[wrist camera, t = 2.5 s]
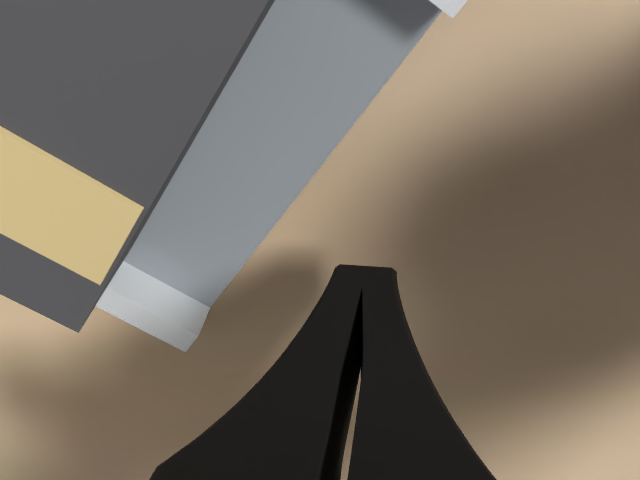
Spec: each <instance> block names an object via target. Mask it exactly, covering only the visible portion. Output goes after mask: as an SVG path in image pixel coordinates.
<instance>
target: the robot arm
mask: <svg viewBox="0 0 640 480" xmlns="http://www.w3.org/2000/svg"><path fill="white" fill-rule="evenodd" d="M360 369H361V384H360V392H359V400H358V408H357V416H356V423H355V431H354V438H353V445H352V452H351V459H350V466H349V473H348V479H347V480H496V479H495V477H494V476H493V475H492V474H491V472H490V471H489V470H488V468H487V467H486V466H485V464H484V463H483V462H482V460H481V459H480V458H479V456H478V455H477V454H476V452H475V451H474V449H473V448H472V446H471V445H470V443H469V442H468V440H467V439H466V437H465V436H464V434H463V433H462V431H461V430H460V428H459V427H458V425H457V424H456V422H455V421H454V419H453V418H452V416H451V414H450V413H449V411H448V409H447V408H446V406H445V404H444V403H443V401H442V399H441V397H440V395H439V393H438V392H437V390H436V388H435V386H434V384H433V382H432V380H431V378H430V376H429V374H428V372H427V370H426V368H425V366H424V363H423V361H422V359H421V357H420V354H419V352H418V350H417V347H416V345H415V342H414V340H413V337H412V334H411V331H410V329H409V326H408V323H407V320H406V317H405V314H404V311H403V307H402V303H401V299H400V295H399V290H398V285H397V272H396V271H395V270H394V269H393V268H387V267H372V266H356V265H341V264H340V265H338V266H337V267H336V268H335V269H334V272H333V274H332V277H331V279H330V281H329V283H328V285H327V287H326V289H325V291H324V293H323V294H322V296H321V298H320V300H319V301H318V303H317V305H316V306H315V308H314V310H313V311H312V313H311V314H310V316H309V317H308V319H307V321H306V322H305V324H304V325H303V327H302V328H301V330H300V331H299V332H298V334H297V335H296V336H295V338H294V339H293V340H292V342H291V343H290V344H289V346H288V347H287V349H286V350H285V351H284V352H283V354H282V355H281V356H280V357H279V359H278V360H277V361H276V362H275V364H274V365H273V366H272V367H271V368H270V369H269V370H268V372H267V373H266V374H265V375H264V376H263V377H262V378H261V379H260V381H259V382H258V383H257V384H256V385H255V386H254V387H253V388H252V389H251V390H250V391H249V392H248V393H247V394H246V395H245V396H244V397H243V398H242V399H241V400H240V401H239V402H238V403H237V404H236V405H235V406H234V407H232V408H231V409H230V410H229V411H228V412H227V413H226V414H225V415H223V416H222V417H221V418H220V419H219V420H218V421H216V422H215V423H214V424H213V425H212V426H211V427H209V428H208V429H207V430H206V431H205V432H203V433H202V434H201V435H200V436H199V437H197V438H196V439H195V440H193V441H192V442H191V443H189V444H188V445H187V446H185V447H184V448H182V449H181V450H180V451H178V452H177V453H176V454H174V455H173V456H171V457H170V458H169V459H167V460H166V461H165V462H163V463H162V464H160V465H159V466H157V468H156V470H155V471H154V473H153V474H152V476H151V478H150V479H149V480H340V477H341V468H342V461H343V455H344V449H345V444H346V439H347V434H348V429H349V424H350V419H351V414H352V409H353V404H354V399H355V394H356V389H357V384H358V379H359V374H360Z"/></svg>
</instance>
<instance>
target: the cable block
mask: <svg viewBox="0 0 640 480" xmlns="http://www.w3.org/2000/svg"><path fill="white" fill-rule="evenodd" d="M274 1H275V0H0V294H1V295H3V296H5V297H7V298H9V299H11V300H13V301H15V302H17V303H19V304H21V305H23V306H26V307H28V308H30V309H32V310H34V311H36V312H38V313H40V314H42V315H44V316H46V317H48V318H50V319H52V320H54V321H56V322H58V323H60V324H62V325H64V326H66V327H68V328H70V329H72V330H74V331H76V332H78V333H79V331H80V330H81V328H82V326H83V325H84V323H85V322H86V320H87V318H88V317H89V315H90V314H91V312H92V310H93V309H94V307H95V306H96V304H97V302H98V301H99V299H100V298H101V296H102V294H103V293H104V291H105V290H106V288H107V286H108V285H109V283H110V282H111V280H112V278H113V277H114V275H115V274H116V272H117V270H118V269H119V267H120V266H121V264H122V262H123V261H124V259H125V257H126V256H127V254H128V253H129V251H130V249H131V248H132V246H133V245H134V243H135V241H136V239H137V238H138V236H139V234H140V232H141V231H142V229H143V227H144V226H145V224H146V222H147V220H148V219H149V217H150V215H151V213H152V212H153V210H154V208H155V207H156V205H157V203H158V201H159V200H160V198H161V196H162V194H163V193H164V191H165V189H166V188H167V186H168V184H169V182H170V181H171V179H172V177H173V175H174V174H175V172H176V170H177V169H178V167H179V165H180V163H181V162H182V160H183V158H184V156H185V155H186V153H187V151H188V150H189V148H190V146H191V144H192V143H193V141H194V139H195V137H196V136H197V134H198V132H199V131H200V129H201V127H202V125H203V124H204V122H205V120H206V118H207V117H208V115H209V113H210V112H211V110H212V108H213V106H214V105H215V103H216V101H217V99H218V98H219V96H220V94H221V93H222V91H223V89H224V87H225V86H226V84H227V82H228V80H229V79H230V77H231V75H232V74H233V72H234V70H235V68H236V67H237V65H238V63H239V62H240V60H241V58H242V56H243V55H244V53H245V51H246V49H247V48H248V46H249V44H250V43H251V41H252V39H253V37H254V36H255V34H256V32H257V30H258V29H259V27H260V25H261V24H262V22H263V20H264V18H265V17H266V15H267V13H268V11H269V10H270V8H271V6H272V5H273V3H274Z"/></svg>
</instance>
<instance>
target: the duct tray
mask: <svg viewBox="0 0 640 480" xmlns="http://www.w3.org/2000/svg"><path fill="white" fill-rule="evenodd" d="M466 1H467V0H275V1H274V3H273V5H272V6H271V8H270V10H269V11H268V13H267V15H266V17H265V18H264V20H263V22H262V24H261V25H260V27H259V29H258V30H257V32H256V34H255V36H254V37H253V39H252V41H251V43H250V44H249V46H248V48H247V49H246V51H245V53H244V55H243V56H242V58H241V60H240V62H239V63H238V65H237V67H236V68H235V70H234V72H233V74H232V75H231V77H230V79H229V80H228V82H227V84H226V86H225V87H224V89H223V91H222V93H221V94H220V96H219V98H218V99H217V101H216V103H215V105H214V106H213V108H212V110H211V112H210V113H209V115H208V117H207V118H206V120H205V122H204V124H203V125H202V127H201V129H200V131H199V132H198V134H197V136H196V137H195V139H194V141H193V143H192V144H191V146H190V148H189V150H188V151H187V153H186V155H185V156H184V158H183V160H182V162H181V163H180V165H179V167H178V169H177V170H176V172H175V174H174V175H173V177H172V179H171V181H170V182H169V184H168V186H167V188H166V189H165V191H164V193H163V194H162V196H161V198H160V200H159V201H158V203H157V205H156V207H155V208H154V210H153V212H152V213H151V215H150V217H149V219H148V220H147V222H146V224H145V226H144V227H143V229H142V231H141V232H140V234H139V236H138V238H137V239H136V241H135V243H134V245H133V246H132V248H131V249H130V251H129V253H128V254H127V256H126V257H125V259H124V261H123V262H122V264H121V266H120V267H119V269H118V270H117V272H116V274H115V275H114V277H113V278H112V280H111V282H110V283H109V285H108V286H107V288H106V290H105V291H104V293H103V294H102V296H101V298H100V299H99V301H98V302H97V304H96V306H95V307H97V308H99V309H101V310H103V311H105V312H107V313H109V314H111V315H113V316H115V317H117V318H119V319H121V320H123V321H125V322H127V323H129V324H131V325H133V326H135V327H137V328H138V329H140V330H142V331H144V332H146V333H148V334H150V335H152V336H154V337H156V338H158V339H160V340H162V341H164V342H166V343H168V344H170V345H172V346H174V347H176V348H178V349H180V350H182V351H184V352H186V351H187V350H188V349H189V347H190V346H191V345H192V344H193V342H194V341H195V340H196V339H197V337H198V336H199V334H200V332H201V329H202V327H203V324H204V322H205V319H206V317H207V314H208V312H209V309H210V307H211V306H212V305H213V304H214V302H215V301H216V300H217V298H218V297H219V296H220V295H221V293H222V292H223V291H224V289H225V288H226V287H227V286H228V284H229V283H230V282H231V280H232V279H233V278H234V277H235V275H236V274H237V273H238V272H239V270H240V269H241V268H242V266H243V265H244V264H245V263H246V261H247V260H248V259H249V257H250V256H251V255H252V254H253V252H254V251H255V250H256V248H257V247H258V246H259V245H260V243H261V242H262V241H263V240H264V238H265V237H266V236H267V234H268V233H269V232H270V231H271V229H272V228H273V227H274V225H275V224H276V223H277V222H278V220H279V219H280V218H281V216H282V215H283V214H284V213H285V211H286V210H287V209H288V208H289V206H290V205H291V204H292V202H293V201H294V200H295V199H296V197H297V196H298V195H299V193H300V192H301V191H302V190H303V188H304V187H305V186H306V184H307V183H308V182H309V181H310V179H311V178H312V177H313V176H314V174H315V173H316V172H317V170H318V169H319V168H320V167H321V165H322V164H323V163H324V161H325V160H326V159H327V158H328V156H329V155H330V154H331V152H332V151H333V150H334V149H335V147H336V146H337V145H338V144H339V142H340V141H341V140H342V138H343V137H344V136H345V135H346V133H347V132H348V131H349V129H350V128H351V127H352V126H353V124H354V123H355V122H356V120H357V119H358V118H359V117H360V115H361V114H362V113H363V112H364V110H365V109H366V108H367V106H368V105H369V104H370V103H371V101H372V100H373V99H374V97H375V96H376V95H377V94H378V92H379V91H380V90H381V88H382V87H383V86H384V85H385V83H386V82H387V81H388V80H389V78H390V77H391V76H392V74H393V73H394V72H395V71H396V69H397V68H398V67H399V65H400V64H401V63H402V62H403V60H404V59H405V58H406V56H407V55H408V54H409V53H410V51H411V50H412V49H413V48H414V46H415V45H416V44H417V42H418V41H419V40H420V39H421V37H422V36H423V35H424V33H425V32H426V31H427V30H428V28H429V27H430V26H431V24H432V23H433V22H434V21H435V19H436V18H437V17H438V16H439V14H440V13H441V12H442V11H444V12H445V13H446V14H447V15H449V16H450V17H451V18H454V16H455V15H456V14H457V13H458V11H459V10H460V9H461V8H462V6H463V5H464V4H465V3H466Z"/></svg>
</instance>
